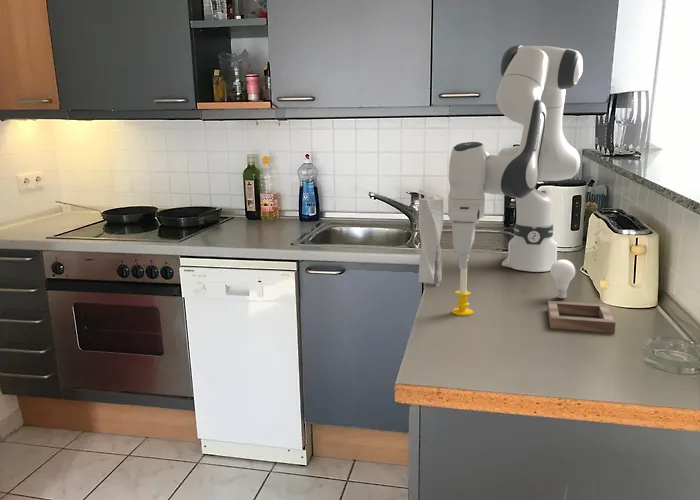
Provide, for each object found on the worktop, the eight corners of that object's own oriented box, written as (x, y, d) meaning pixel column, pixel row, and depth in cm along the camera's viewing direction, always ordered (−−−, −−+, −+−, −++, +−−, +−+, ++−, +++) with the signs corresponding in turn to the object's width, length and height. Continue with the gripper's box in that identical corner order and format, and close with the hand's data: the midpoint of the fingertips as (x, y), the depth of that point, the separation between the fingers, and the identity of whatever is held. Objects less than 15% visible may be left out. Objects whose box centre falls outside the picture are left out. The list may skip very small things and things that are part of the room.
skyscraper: (411, 285, 179) (412, 191, 173) (421, 279, 186) (422, 188, 180) (438, 288, 175) (440, 192, 169) (447, 282, 182) (449, 189, 176)
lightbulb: (553, 294, 168) (556, 256, 166) (576, 298, 164) (579, 259, 162) (545, 299, 163) (547, 260, 161) (568, 303, 159) (571, 263, 157)
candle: (476, 315, 151) (478, 254, 148) (456, 316, 150) (458, 256, 147) (468, 308, 156) (469, 250, 153) (449, 310, 155) (450, 251, 152)
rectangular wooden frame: (547, 310, 154) (548, 300, 154) (605, 314, 151) (606, 304, 150) (550, 328, 141) (551, 318, 140) (614, 332, 137) (615, 322, 137)
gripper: (456, 203, 158) (455, 255, 161) (448, 215, 139) (447, 273, 141) (481, 204, 156) (479, 256, 159) (476, 215, 137) (474, 274, 140)
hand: (464, 264), depth 150 cm, fingers open, 8 cm apart
